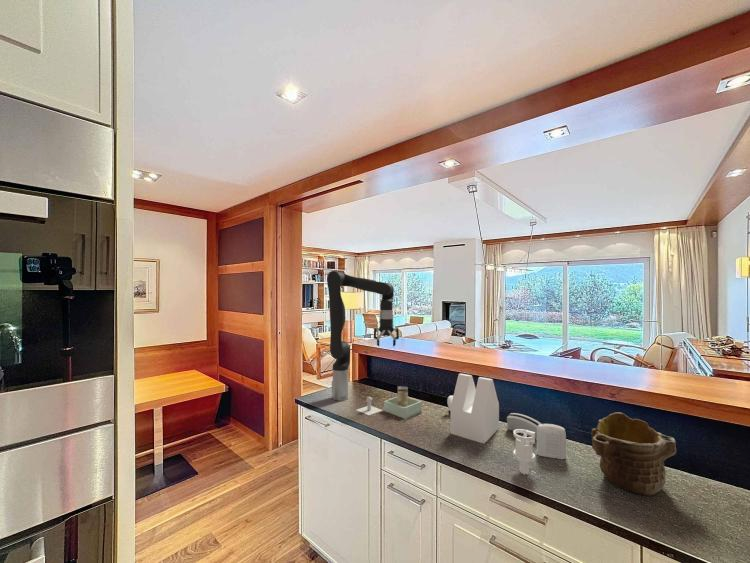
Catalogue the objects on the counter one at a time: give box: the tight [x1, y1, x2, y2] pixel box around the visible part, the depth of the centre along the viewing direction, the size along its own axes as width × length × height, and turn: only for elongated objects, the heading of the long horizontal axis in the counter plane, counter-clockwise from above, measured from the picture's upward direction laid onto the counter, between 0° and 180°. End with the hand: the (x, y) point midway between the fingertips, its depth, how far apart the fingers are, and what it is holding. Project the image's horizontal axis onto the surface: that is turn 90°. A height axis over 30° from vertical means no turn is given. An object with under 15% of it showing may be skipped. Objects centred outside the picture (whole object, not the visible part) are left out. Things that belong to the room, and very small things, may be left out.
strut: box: [397, 385, 409, 407], centre depth 172 cm, size 5×5×12 cm
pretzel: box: [446, 395, 454, 412], centre depth 171 cm, size 11×12×9 cm
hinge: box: [506, 412, 542, 439], centre depth 147 cm, size 17×5×10 cm, turn 37°
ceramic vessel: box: [591, 411, 677, 496], centre depth 111 cm, size 23×24×25 cm
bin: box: [383, 395, 423, 421], centre depth 172 cm, size 14×14×6 cm
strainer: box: [512, 429, 536, 475], centre depth 118 cm, size 7×7×15 cm
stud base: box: [356, 396, 383, 416], centre depth 173 cm, size 10×10×8 cm
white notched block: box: [450, 372, 500, 444], centre depth 151 cm, size 19×15×25 cm
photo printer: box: [536, 423, 567, 460], centre depth 129 cm, size 10×4×12 cm, turn 73°
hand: (386, 346), depth 186 cm, fingers open, 8 cm apart
